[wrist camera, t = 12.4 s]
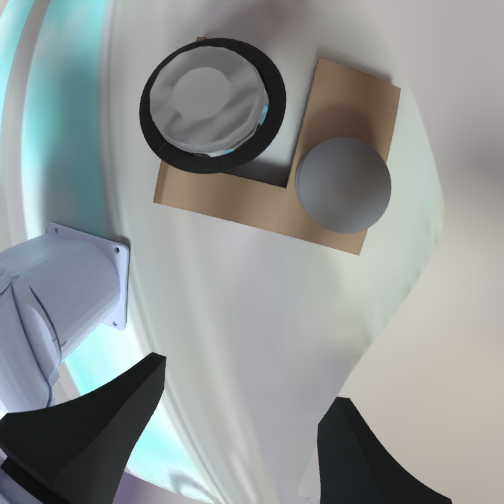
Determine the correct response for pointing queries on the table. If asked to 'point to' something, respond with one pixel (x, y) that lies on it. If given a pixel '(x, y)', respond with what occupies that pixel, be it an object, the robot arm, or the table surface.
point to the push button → (212, 106)
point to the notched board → (320, 123)
